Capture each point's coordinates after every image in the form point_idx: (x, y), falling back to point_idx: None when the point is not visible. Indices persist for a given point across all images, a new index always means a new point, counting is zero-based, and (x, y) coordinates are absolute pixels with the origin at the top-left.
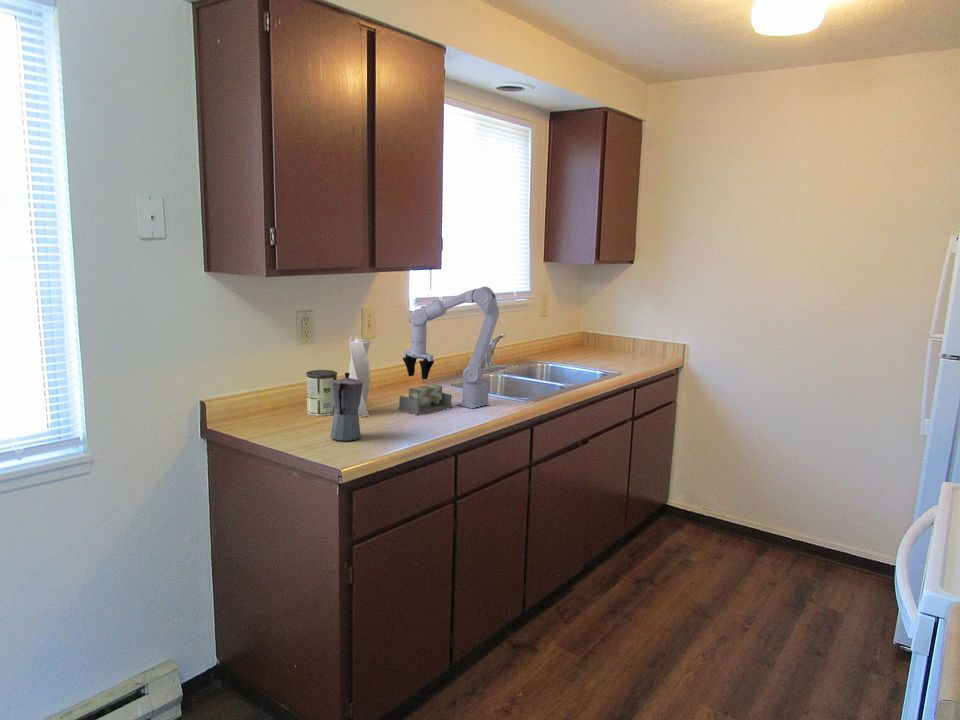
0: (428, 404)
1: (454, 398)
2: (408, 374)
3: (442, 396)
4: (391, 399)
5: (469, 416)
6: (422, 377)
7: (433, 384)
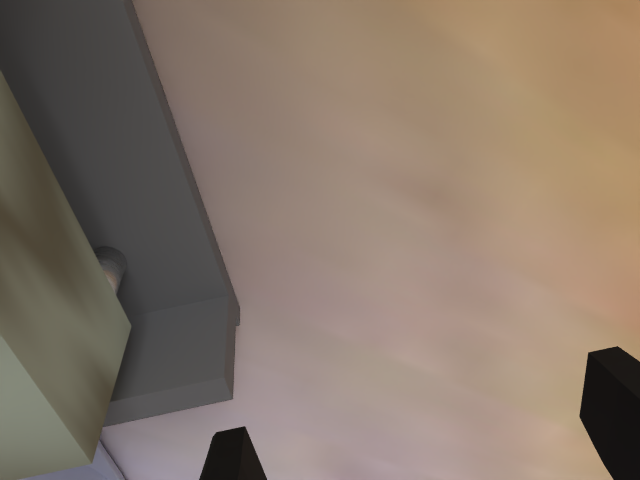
0: (85, 218)
1: (310, 473)
2: (635, 363)
3: None
4: (619, 7)
5: None
6: (221, 456)
7: (79, 456)
